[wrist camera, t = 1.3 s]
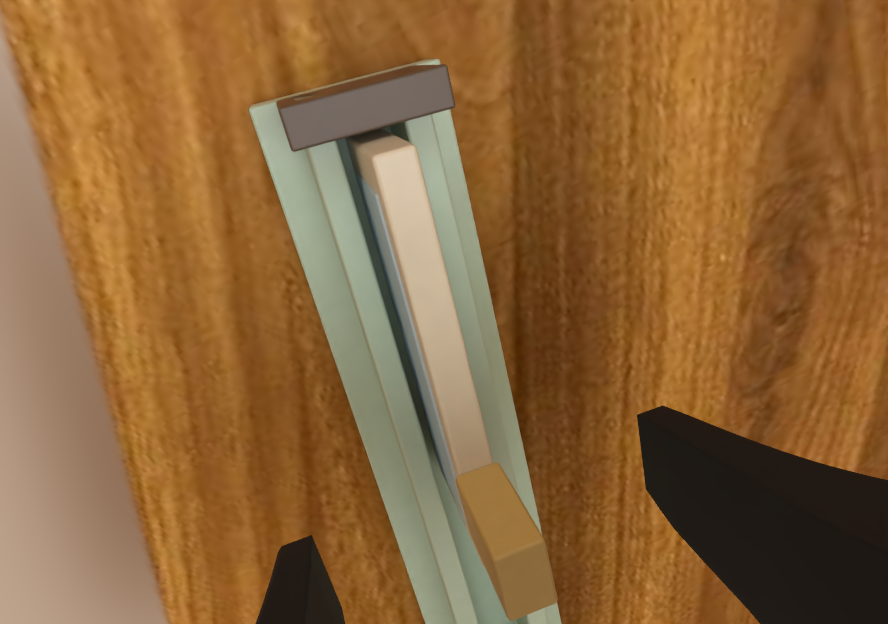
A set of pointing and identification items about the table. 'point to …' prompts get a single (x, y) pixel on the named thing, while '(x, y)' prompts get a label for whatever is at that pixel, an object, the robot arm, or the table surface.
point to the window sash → (447, 372)
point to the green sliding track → (375, 323)
